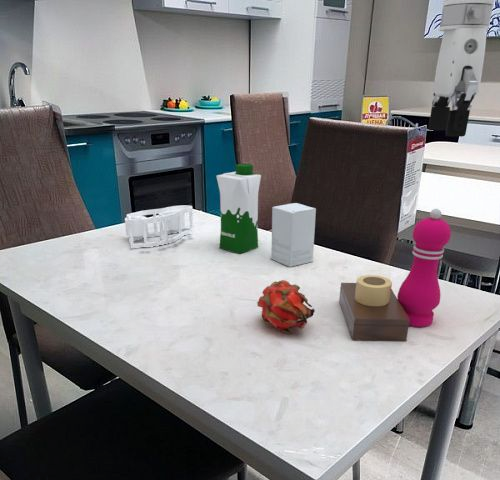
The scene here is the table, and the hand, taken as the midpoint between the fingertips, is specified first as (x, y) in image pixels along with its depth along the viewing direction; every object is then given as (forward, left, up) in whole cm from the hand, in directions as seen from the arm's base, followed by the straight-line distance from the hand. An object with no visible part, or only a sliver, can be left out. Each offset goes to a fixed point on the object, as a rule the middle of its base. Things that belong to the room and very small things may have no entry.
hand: (445, 133), depth 90 cm
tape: (+13, +14, -26) cm, 32 cm away
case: (+12, +14, -30) cm, 36 cm away
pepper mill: (+4, +14, -30) cm, 34 cm away
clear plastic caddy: (+59, -34, -31) cm, 75 cm away
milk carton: (+38, -27, -31) cm, 56 cm away
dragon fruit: (+28, +17, -31) cm, 45 cm away
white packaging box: (+25, -18, -31) cm, 43 cm away
